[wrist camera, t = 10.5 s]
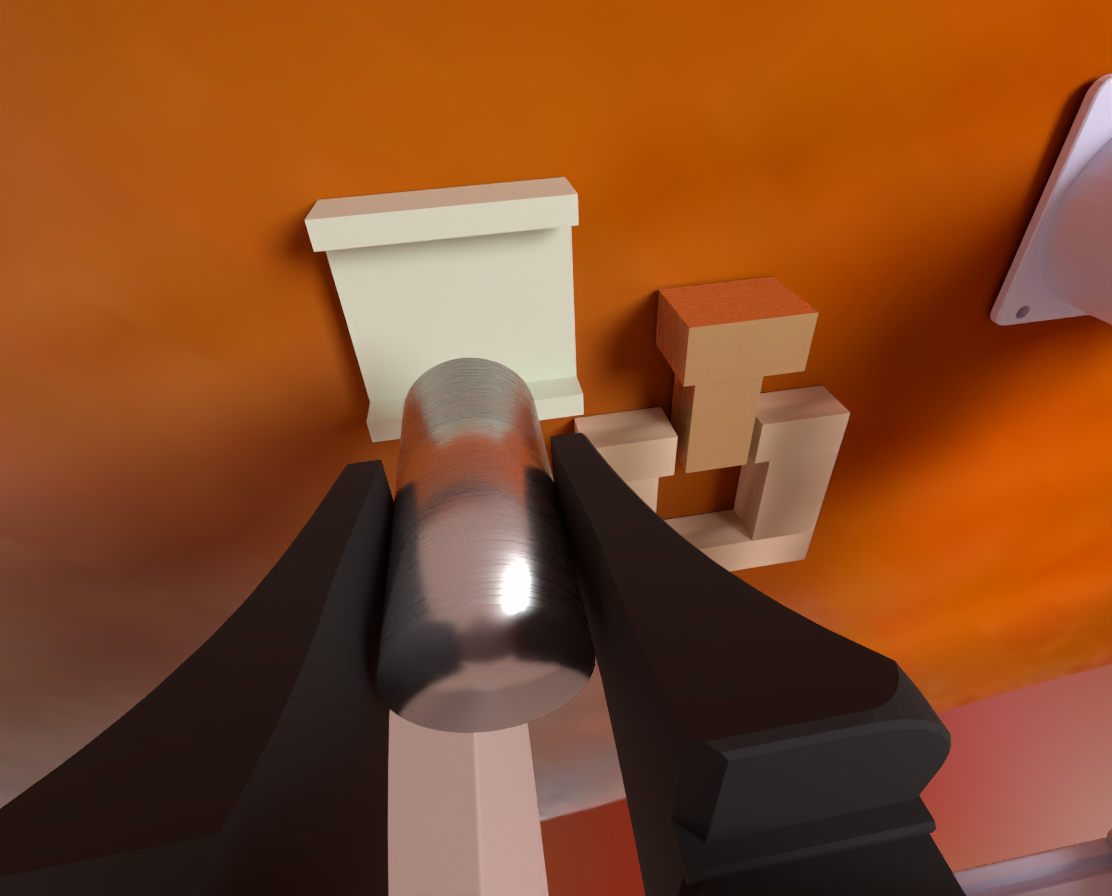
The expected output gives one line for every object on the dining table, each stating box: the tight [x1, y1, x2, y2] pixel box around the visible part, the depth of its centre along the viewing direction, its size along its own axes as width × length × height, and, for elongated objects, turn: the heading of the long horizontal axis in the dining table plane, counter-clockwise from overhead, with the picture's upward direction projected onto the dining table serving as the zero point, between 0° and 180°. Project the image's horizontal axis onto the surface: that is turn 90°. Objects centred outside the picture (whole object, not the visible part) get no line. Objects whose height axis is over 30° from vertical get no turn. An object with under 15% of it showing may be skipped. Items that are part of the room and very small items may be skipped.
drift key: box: [656, 276, 819, 473], centre depth 20 cm, size 4×6×3 cm, turn 3°
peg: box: [377, 358, 595, 733], centre depth 11 cm, size 3×3×7 cm
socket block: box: [574, 385, 850, 571], centre depth 24 cm, size 10×8×2 cm
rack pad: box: [304, 177, 584, 442], centre depth 18 cm, size 7×7×2 cm
